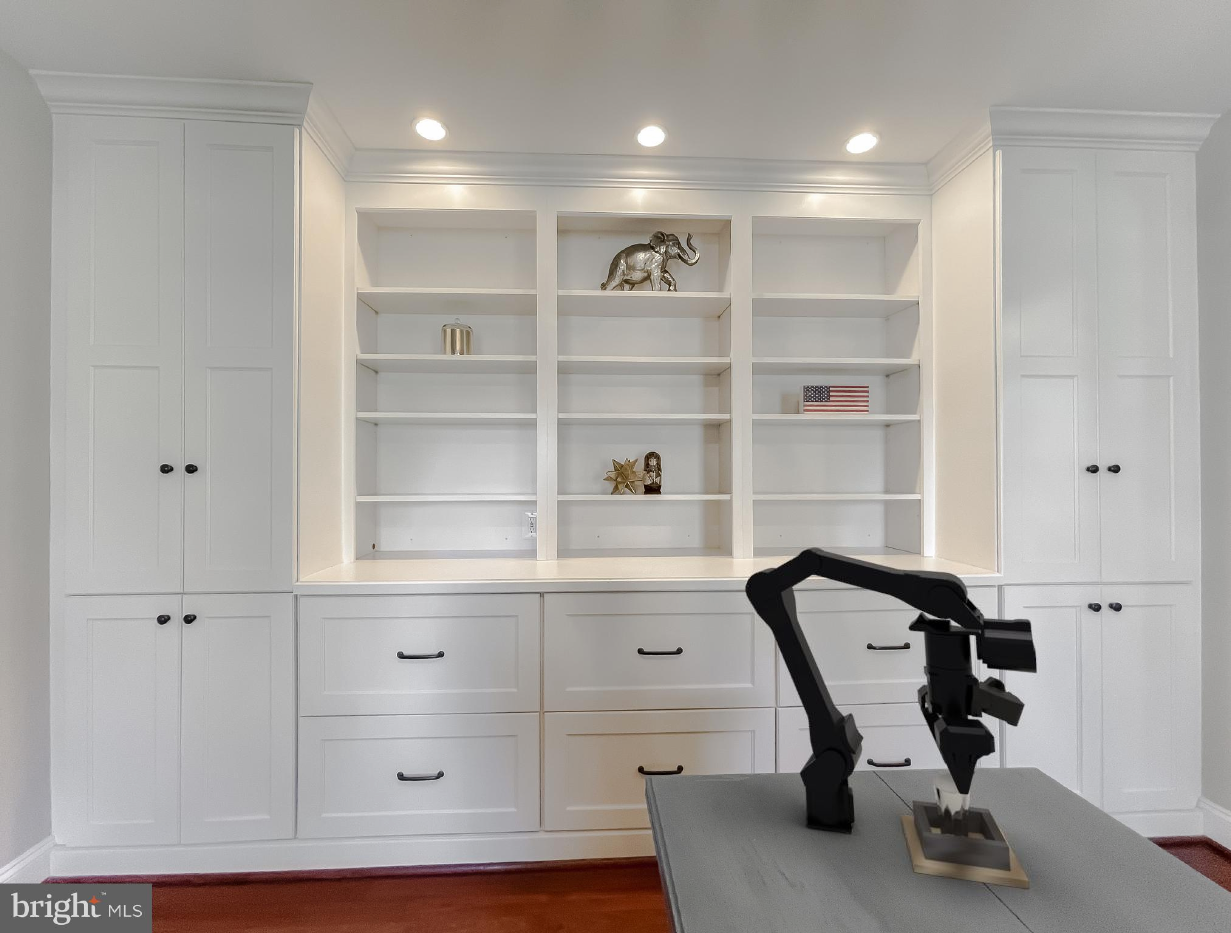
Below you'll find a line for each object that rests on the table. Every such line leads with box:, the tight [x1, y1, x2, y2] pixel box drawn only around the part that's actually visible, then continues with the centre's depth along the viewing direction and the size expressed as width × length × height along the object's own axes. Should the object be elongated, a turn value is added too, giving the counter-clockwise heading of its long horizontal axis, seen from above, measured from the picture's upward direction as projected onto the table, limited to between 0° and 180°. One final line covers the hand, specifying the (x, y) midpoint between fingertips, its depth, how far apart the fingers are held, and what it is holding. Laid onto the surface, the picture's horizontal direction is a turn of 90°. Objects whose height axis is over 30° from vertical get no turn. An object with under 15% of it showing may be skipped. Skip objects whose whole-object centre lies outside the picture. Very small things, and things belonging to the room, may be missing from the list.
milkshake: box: [932, 770, 976, 837], centre depth 84 cm, size 4×5×10 cm
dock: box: [900, 800, 1030, 890], centre depth 84 cm, size 13×13×4 cm
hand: (955, 778), depth 84 cm, fingers open, 9 cm apart
